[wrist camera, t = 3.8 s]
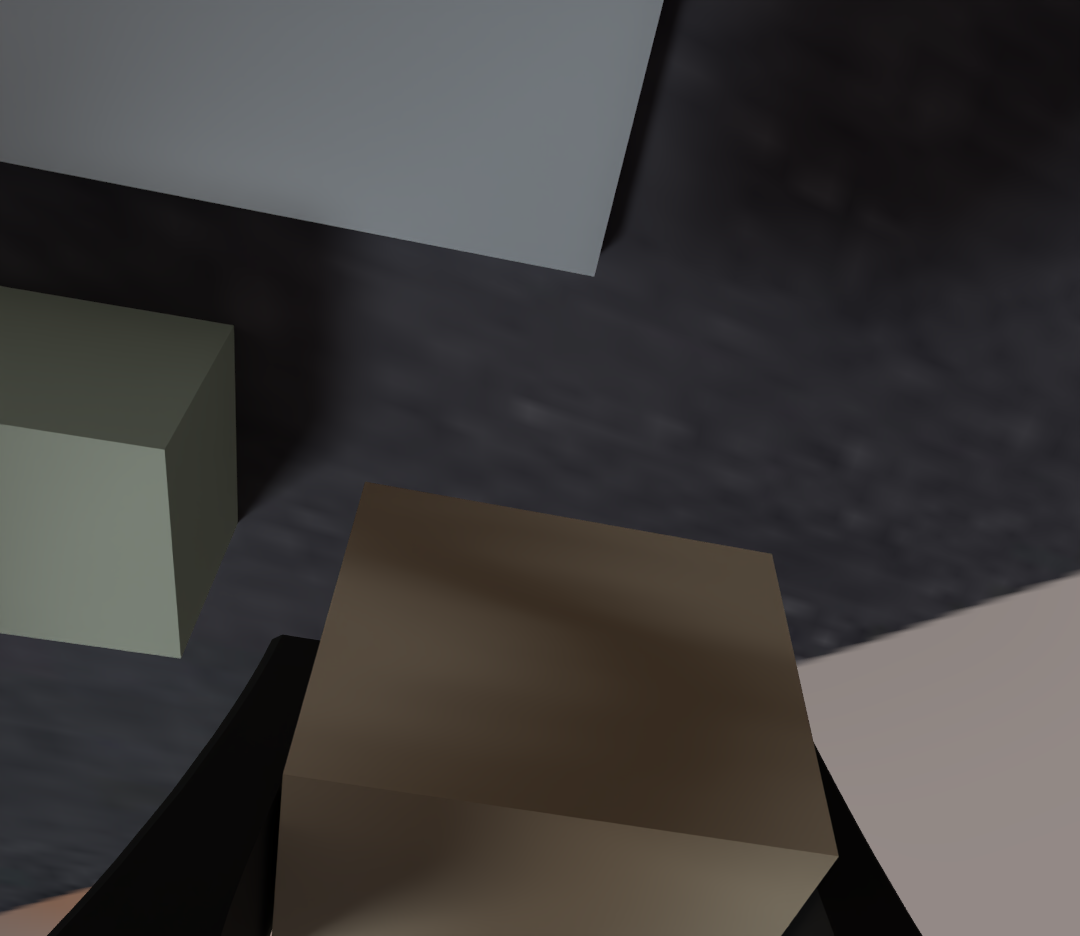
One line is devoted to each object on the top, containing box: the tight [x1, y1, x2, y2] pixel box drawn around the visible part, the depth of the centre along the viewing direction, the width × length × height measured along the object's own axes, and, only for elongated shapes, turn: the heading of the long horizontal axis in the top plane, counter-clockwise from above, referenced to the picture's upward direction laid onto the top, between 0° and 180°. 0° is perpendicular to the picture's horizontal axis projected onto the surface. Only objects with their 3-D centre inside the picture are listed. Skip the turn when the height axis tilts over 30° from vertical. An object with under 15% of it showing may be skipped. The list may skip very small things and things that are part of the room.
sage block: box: [0, 286, 238, 658], centre depth 18 cm, size 5×5×4 cm
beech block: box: [272, 482, 839, 936], centre depth 12 cm, size 5×5×4 cm
